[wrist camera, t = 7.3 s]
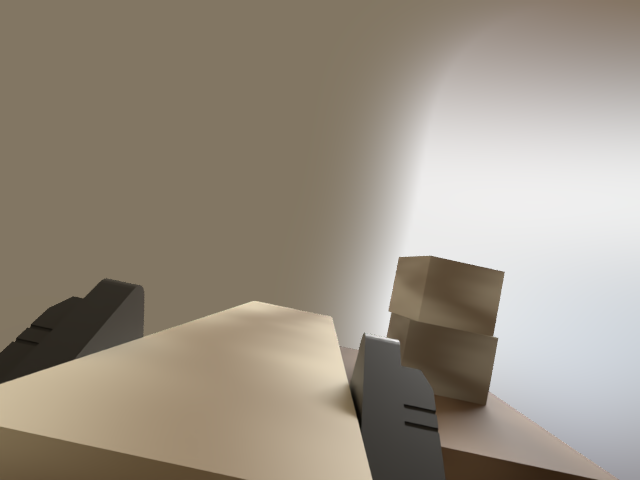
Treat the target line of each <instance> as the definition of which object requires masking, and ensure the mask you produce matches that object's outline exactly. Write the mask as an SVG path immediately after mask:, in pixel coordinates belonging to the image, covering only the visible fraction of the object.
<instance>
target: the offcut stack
mask: <svg viewBox="0 0 640 480" xmlns="http://www.w3.org/2000/svg"><path fill="white" fill-rule="evenodd" d="M503 278H504V272H502V271H498V270H493V269H489V268H484V267H479V266H475V265H470V264H466V263H461V262H457V261H452V260H447V259H443V258H438V257H434V256H417V257H399V260H398V265H397V271H396V276H395V281H394V286H393V291H392V296H391V301H390V306H389V311H390V312H392V313H391V318H390V323H389V328H388V333H387V338H392V339H396V340H399V342H400V354H401V366H404V367H409V368H414V369H419V370H421V371H422V373H423V374H424V376H425V378H426V379H427V381H428V382H429V384H430V386H431V387H432V389H433V392H434V394H435V395H439V396H444V397H449V398H454V399H458V400H463V401H468V402H473V403H477V404H482V405H486V403H487V398H488V392H489V387H490V381H491V375H492V370H493V364H494V358H495V353H496V347H497V341H498V338H496V337H493V334H494V328H495V323H496V316H497V311H498V306H499V301H500V295H501V289H502V284H503Z"/></svg>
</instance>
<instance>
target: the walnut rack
mask: <svg viewBox="0 0 640 480" xmlns="http://www.w3.org/2000/svg"><path fill="white" fill-rule="evenodd" d="M339 347H340V351H341V355H342V359H343V363H344V367H345V371H346V375H347V379H348V383H349V386H350V382H351V378H352V374H353V370H354V366H355V363H356V359H357V355H358V351H359V350H355V349H351V348H346V347H341V346H339ZM434 399H435V406H436V415H437V421H438V433H439V435H440V442H441V450H442V457H443V464H444V471H445V479H446V480H618V479H617V478H615V477H614V476H612V475H611V474H610V473H608V472H607V471H605V470H604V469H602V468H601V467H599V466H598V465H596V464H595V463H593V462H592V461H590V460H589V459H587V458H586V457H585V456H583V455H581V454H580V453H579V452H577V451H576V450H574V449H573V448H571V447H570V446H568V445H567V444H565V443H564V442H562V441H561V440H560V439H558V438H557V437H555V436H554V435H552V434H551V433H549V432H548V431H546V430H545V429H543V428H542V427H540V426H539V425H537V424H536V423H534V422H533V421H531V420H530V419H528V418H527V417H526V416H524V415H523V414H521V413H520V412H518V411H517V410H515V409H514V408H512V407H511V406H510V405H508V404H506V403H505V402H503V401H502V400H501V399H499V398H497V397H496V396H495V395H493V394H492V393H490V392H488V398H487V403H486V405H482V404H477V403H473V402H468V401H463V400H458V399H454V398H449V397H444V396H439V395H435V394H434Z"/></svg>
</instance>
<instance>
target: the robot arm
mask: <svg viewBox="0 0 640 480" xmlns="http://www.w3.org/2000/svg"><path fill="white" fill-rule="evenodd" d="M143 325H144V290H143V287H142V286H140V285H135V284H131V283H126V282H121V281H116V280H112V279H107V278H106V279H104V280H102V281H101V282H99V283H98V284H97V286H96V287H95V288H94V289H93V290H92V291H91V292H90V293H89V294H88V295H87V296H86V297H85V298H84V299H82V298H78V297H71V298H69V299H67V300H65V301H63V302H61V303H58V304H56V305H54V306H52V307H50V308H49V309H47V310H46V311H45V312H44V313H43V314H42V315H41V316H40V317H38V319H36V320H35V321H34V322H33V323H32V324H31V327H30V328H27V329H26V330H25V331H24V332H22V333H21V334H20V335H19V336H18V337H17V338H16V341H15V342H12V343H11V344H10V345H9V346H7V347H6V348H5V349H4V350H3V351H2V352H1V353H0V384H2V383H5V382H8V381H11V380H14V379H17V378H20V377H23V376H27V375H30V374H33V373H36V372H39V371H42V370H45V369H48V368H51V367H54V366H57V365H60V364H63V363H66V362H69V361H72V360H75V359H78V358H81V357H84V356H87V355H90V354H93V353H97V352H100V351H103V350H106V349H109V348H112V347H115V346H118V345H121V344H124V343H127V342H130V341H133V340H136V339H139V338H142V337H143ZM349 387H350V391H351V396H352V400H353V404H354V408H355V412H356V416H357V420H358V424H359V428H360V432H361V436H362V440H363V444H364V448H365V452H366V456H367V460H368V464H369V468H370V472H371V476H372V480H446V479H445V471H444V464H443V457H442V450H441V442H440V435H439V433H438V421H437V415H436V406H435V399H434V392H433V389H432V387H431V386H430V384H429V382H428V381H427V379H426V378H425V376H424V374H423V373H422V371H421V370H419V369H414V368H409V367H404V366H401V354H400V342H399V340H396V339H392V338H387V337H382V336H377V335H372V334H368V333H364V334H363V337H362V340H361V343H360V347H359V351H358V355H357V359H356V363H355V366H354V370H353V374H352V378H351V382H350V386H349Z"/></svg>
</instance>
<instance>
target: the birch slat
mask: <svg viewBox="0 0 640 480" xmlns="http://www.w3.org/2000/svg"><path fill="white" fill-rule="evenodd" d="M0 480H372V476H371V472H370V468H369V464H368V460H367V456H366V452H365V448H364V444H363V440H362V436H361V432H360V428H359V424H358V420H357V416H356V412H355V408H354V404H353V400H352V396H351V391H350V387H349V383H348V379H347V375H346V371H345V367H344V363H343V359H342V355H341V351H340V347H339V343H338V340H337V335H336V331H335V327H334V323H333V319H332V317H330V316H325V315H320V314H316V313H311V312H306V311H301V310H296V309H291V308H287V307H282V306H277V305H272V304H267V303H263V302H258V301H252V302H249V303H246V304H243V305H240V306H237V307H234V308H231V309H228V310H224V311H221V312H218V313H215V314H212V315H209V316H206V317H203V318H200V319H197V320H194V321H191V322H188V323H185V324H182V325H179V326H176V327H173V328H170V329H167V330H164V331H160V332H157V333H154V334H152V335H148V336H145V337H142V338H139V339H136V340H133V341H130V342H127V343H124V344H121V345H118V346H115V347H112V348H109V349H106V350H103V351H100V352H97V353H93V354H90V355H87V356H84V357H81V358H78V359H75V360H72V361H69V362H66V363H63V364H60V365H57V366H54V367H51V368H48V369H45V370H42V371H39V372H36V373H33V374H30V375H27V376H23V377H20V378H17V379H14V380H11V381H8V382H5V383H2V384H0Z"/></svg>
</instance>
